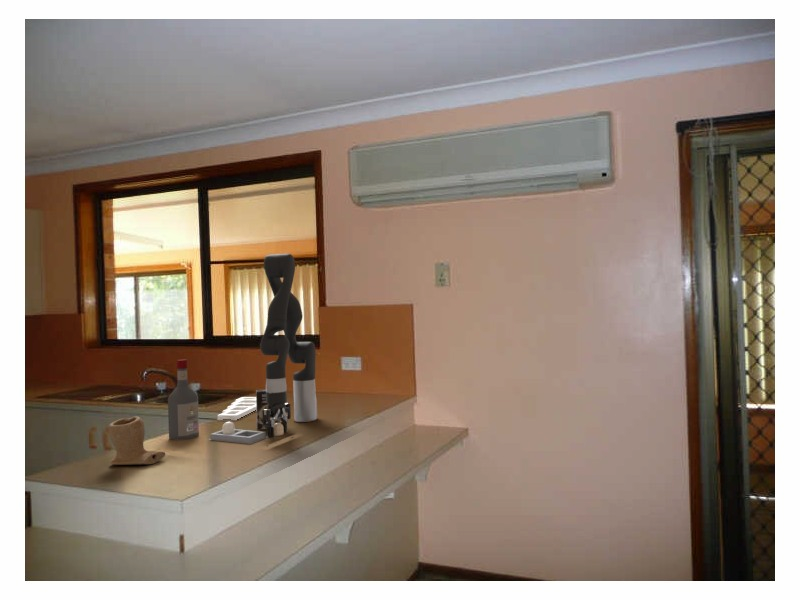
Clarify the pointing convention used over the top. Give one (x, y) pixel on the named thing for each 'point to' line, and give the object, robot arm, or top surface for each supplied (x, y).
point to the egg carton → (239, 436)
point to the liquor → (183, 407)
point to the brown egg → (278, 429)
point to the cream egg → (228, 428)
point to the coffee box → (260, 406)
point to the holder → (239, 408)
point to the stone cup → (131, 443)
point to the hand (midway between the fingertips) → (277, 434)
